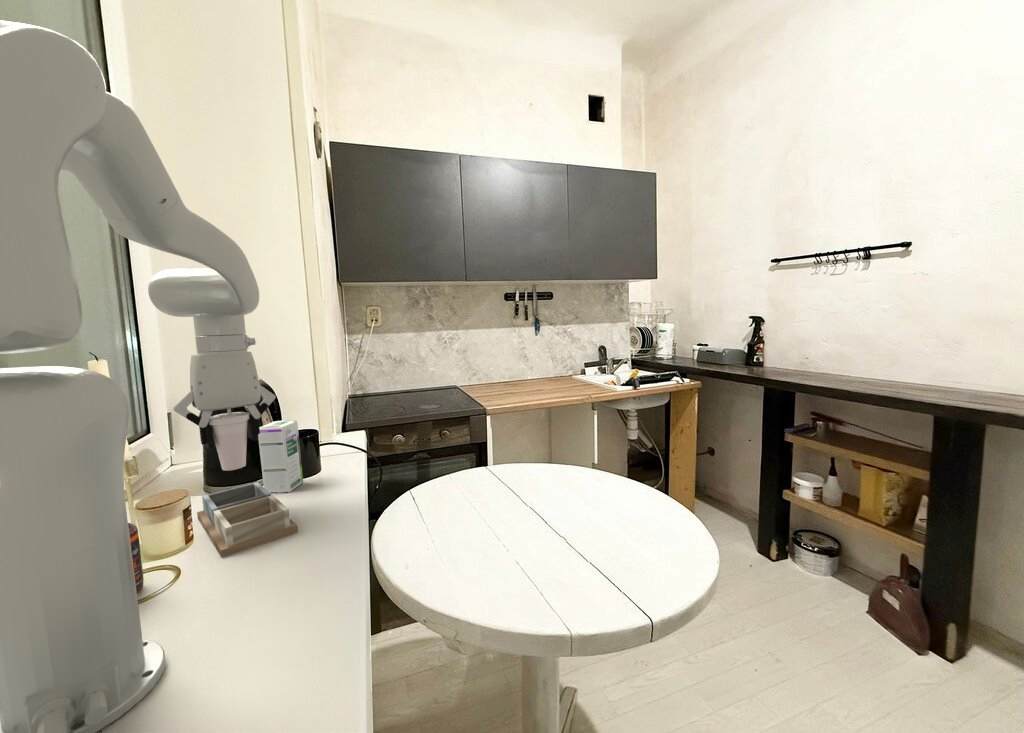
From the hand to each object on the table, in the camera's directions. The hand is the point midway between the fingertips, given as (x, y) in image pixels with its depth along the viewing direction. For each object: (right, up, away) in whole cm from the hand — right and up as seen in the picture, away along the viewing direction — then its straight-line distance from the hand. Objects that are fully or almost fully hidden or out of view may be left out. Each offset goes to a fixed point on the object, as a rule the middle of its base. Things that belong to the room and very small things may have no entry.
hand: (231, 442), depth 78 cm
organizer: (+4, -14, -2) cm, 15 cm away
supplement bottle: (-1, -17, -22) cm, 28 cm away
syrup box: (+2, -13, +15) cm, 20 cm away
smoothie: (0, -5, 0) cm, 5 cm away
